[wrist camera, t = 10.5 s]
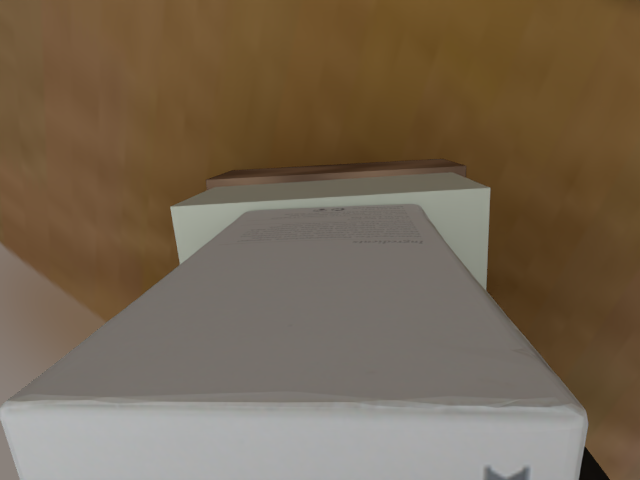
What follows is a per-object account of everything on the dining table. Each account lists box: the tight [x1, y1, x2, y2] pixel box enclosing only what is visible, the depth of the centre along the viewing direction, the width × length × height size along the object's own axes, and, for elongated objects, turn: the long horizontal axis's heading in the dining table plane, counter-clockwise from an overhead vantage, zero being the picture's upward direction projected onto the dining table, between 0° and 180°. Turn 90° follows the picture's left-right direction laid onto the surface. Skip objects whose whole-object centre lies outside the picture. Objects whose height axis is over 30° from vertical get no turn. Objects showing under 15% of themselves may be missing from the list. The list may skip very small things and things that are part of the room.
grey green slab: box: [170, 172, 490, 290], centre depth 18 cm, size 11×11×5 cm
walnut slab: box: [206, 159, 466, 190], centre depth 23 cm, size 12×12×5 cm
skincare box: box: [0, 204, 588, 480], centre depth 10 cm, size 10×6×10 cm, turn 3°
